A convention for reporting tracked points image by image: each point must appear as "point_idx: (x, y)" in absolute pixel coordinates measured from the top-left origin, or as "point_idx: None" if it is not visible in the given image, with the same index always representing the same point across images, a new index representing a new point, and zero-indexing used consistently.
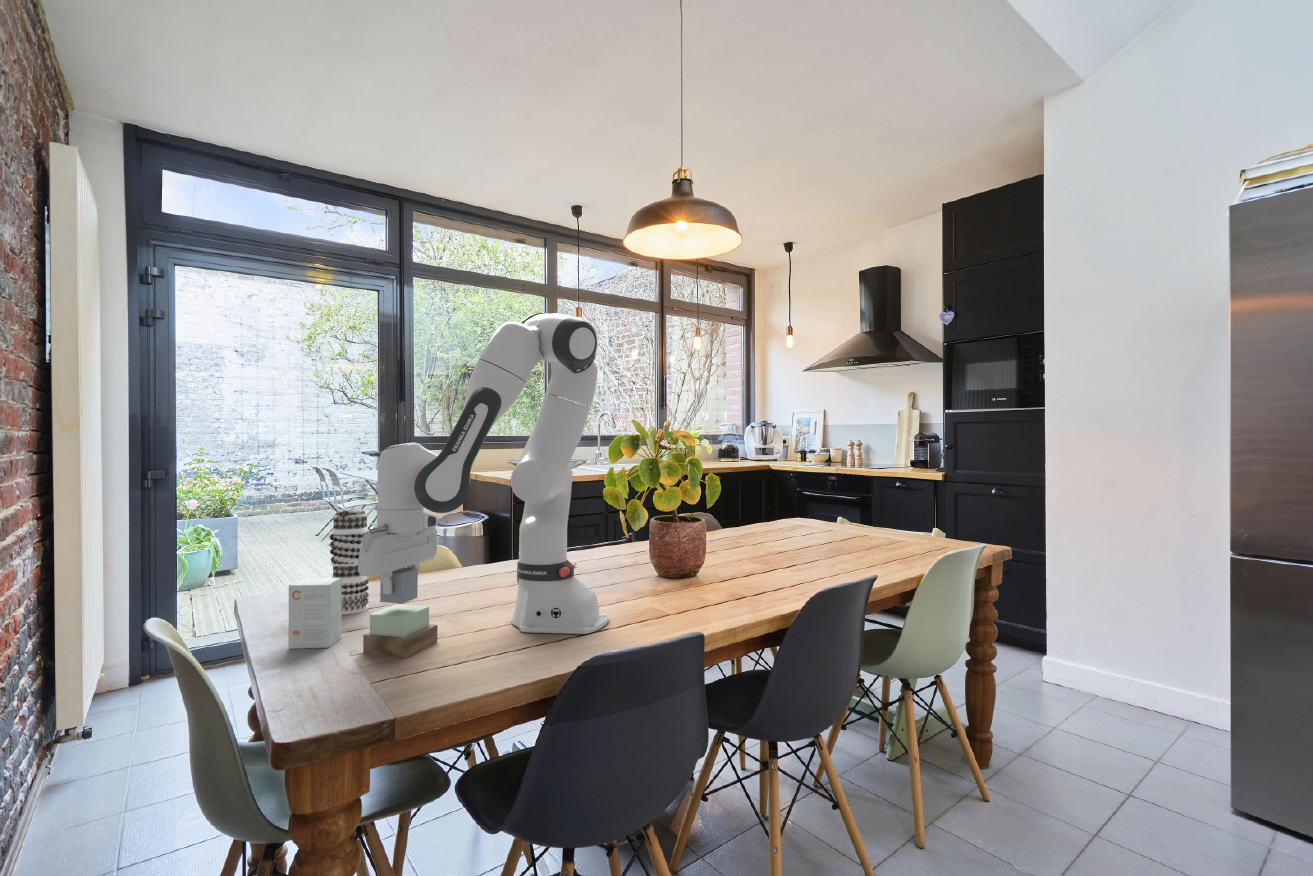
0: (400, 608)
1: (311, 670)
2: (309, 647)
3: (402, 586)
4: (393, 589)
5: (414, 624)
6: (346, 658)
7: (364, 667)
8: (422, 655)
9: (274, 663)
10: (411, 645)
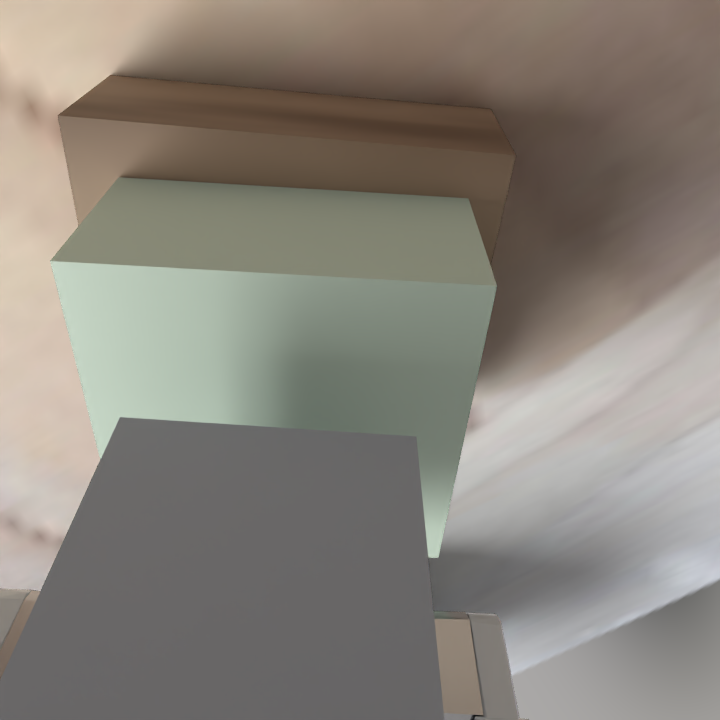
0: None
1: (687, 463)
2: None
3: (417, 618)
4: (442, 646)
5: (331, 222)
6: (521, 422)
7: (666, 268)
8: (423, 14)
9: (591, 602)
10: (441, 127)
